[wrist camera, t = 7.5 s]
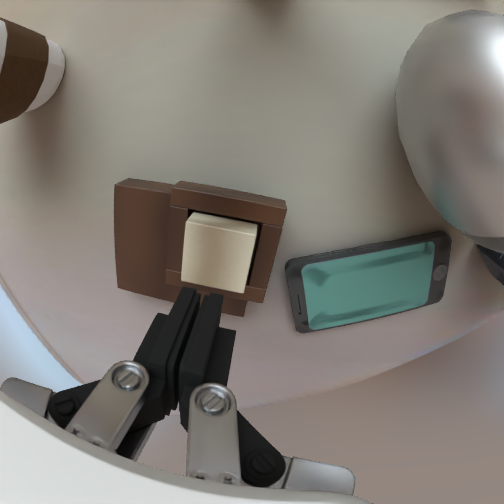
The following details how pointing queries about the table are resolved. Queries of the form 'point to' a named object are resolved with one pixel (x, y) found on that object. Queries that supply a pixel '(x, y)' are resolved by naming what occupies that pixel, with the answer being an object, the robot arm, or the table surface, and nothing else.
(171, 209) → the key block
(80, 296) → the table surface
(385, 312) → the smartphone
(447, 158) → the sphere
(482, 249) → the box
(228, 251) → the cream square block
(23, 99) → the coffee cup
